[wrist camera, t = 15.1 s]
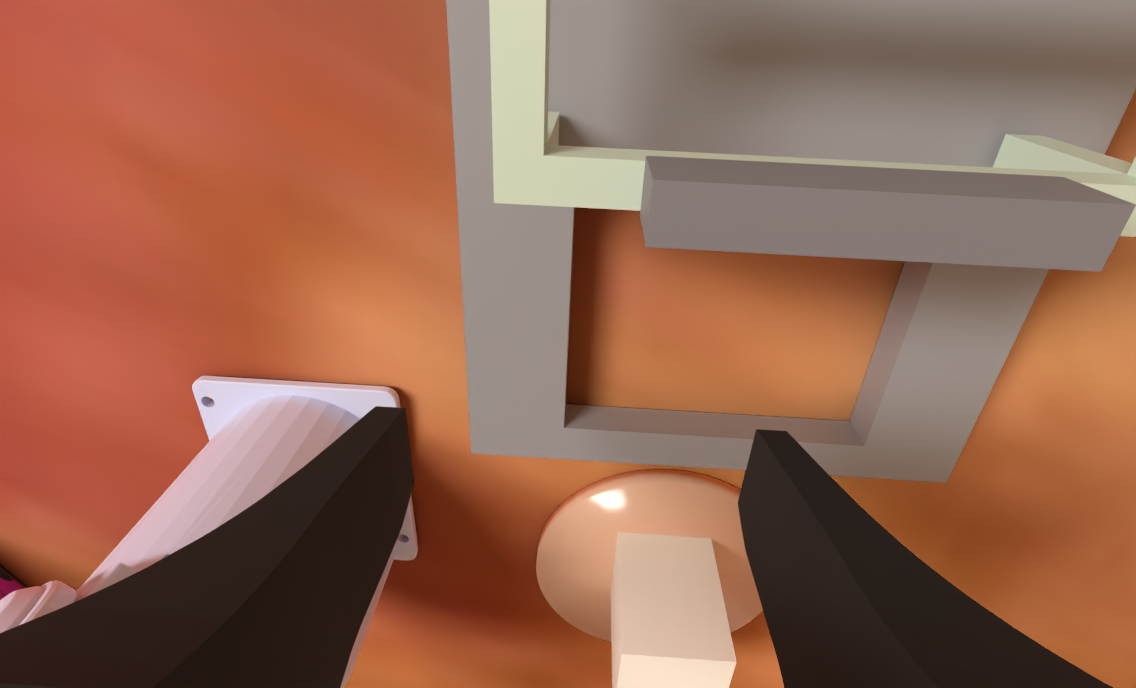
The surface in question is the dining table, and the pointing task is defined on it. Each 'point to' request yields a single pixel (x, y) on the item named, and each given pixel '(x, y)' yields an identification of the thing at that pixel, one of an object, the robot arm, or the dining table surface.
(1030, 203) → the cream slatted rack
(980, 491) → the dining table surface
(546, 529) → the terracotta dish
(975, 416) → the puzzle board
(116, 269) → the dining table surface
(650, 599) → the cream block
